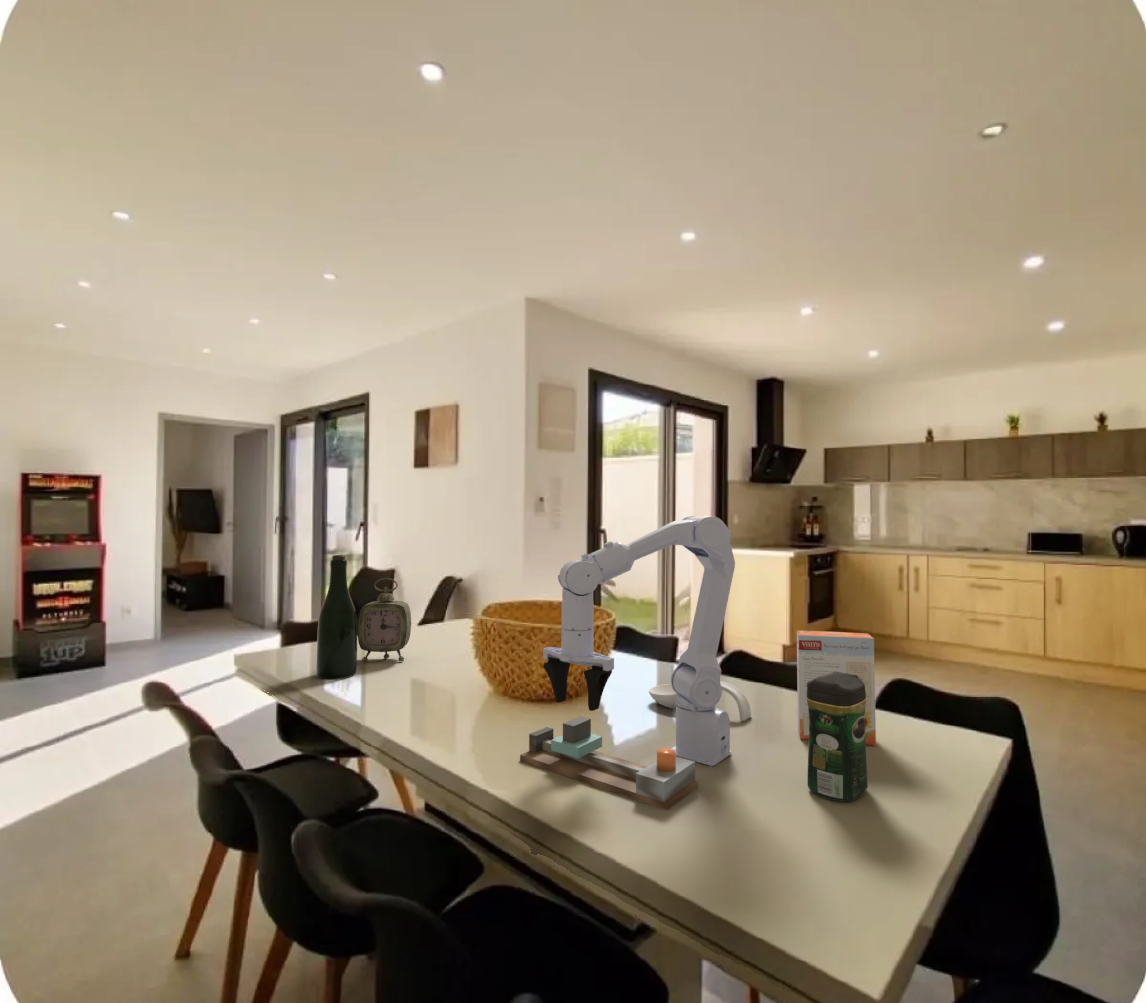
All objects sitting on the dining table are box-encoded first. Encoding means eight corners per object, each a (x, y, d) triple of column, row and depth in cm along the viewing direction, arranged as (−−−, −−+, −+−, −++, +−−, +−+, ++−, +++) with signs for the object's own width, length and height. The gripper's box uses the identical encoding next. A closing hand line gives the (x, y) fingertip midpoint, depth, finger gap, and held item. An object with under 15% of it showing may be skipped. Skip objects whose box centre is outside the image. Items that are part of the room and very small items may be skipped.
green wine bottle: (347, 680, 164) (349, 556, 165) (309, 679, 165) (311, 556, 166) (362, 670, 175) (364, 554, 176) (326, 670, 175) (328, 553, 176)
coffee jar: (825, 774, 105) (825, 665, 106) (874, 790, 100) (873, 674, 100) (798, 791, 99) (798, 675, 99) (848, 809, 93) (848, 685, 94)
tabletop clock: (356, 664, 183) (358, 579, 183) (364, 657, 192) (365, 576, 192) (406, 663, 184) (407, 579, 184) (411, 656, 193) (412, 576, 193)
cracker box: (870, 736, 124) (869, 632, 125) (876, 747, 118) (875, 637, 119) (796, 729, 128) (796, 628, 129) (799, 739, 122) (798, 633, 123)
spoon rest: (640, 707, 144) (640, 676, 144) (663, 695, 153) (663, 666, 153) (738, 727, 130) (738, 693, 130) (757, 713, 139) (757, 681, 140)
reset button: (679, 766, 98) (679, 751, 99) (669, 773, 96) (669, 756, 96) (662, 762, 100) (662, 746, 100) (653, 768, 98) (653, 752, 98)
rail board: (697, 787, 100) (697, 762, 100) (667, 810, 92) (667, 783, 92) (555, 744, 119) (555, 723, 119) (519, 760, 111) (519, 737, 111)
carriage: (602, 746, 110) (602, 719, 110) (578, 758, 105) (578, 730, 105) (575, 739, 114) (575, 712, 114) (551, 750, 108) (551, 722, 109)
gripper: (532, 626, 111) (531, 702, 111) (597, 636, 102) (596, 719, 102) (557, 621, 117) (556, 693, 116) (621, 630, 108) (620, 709, 107)
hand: (577, 705), depth 109 cm, fingers open, 7 cm apart
